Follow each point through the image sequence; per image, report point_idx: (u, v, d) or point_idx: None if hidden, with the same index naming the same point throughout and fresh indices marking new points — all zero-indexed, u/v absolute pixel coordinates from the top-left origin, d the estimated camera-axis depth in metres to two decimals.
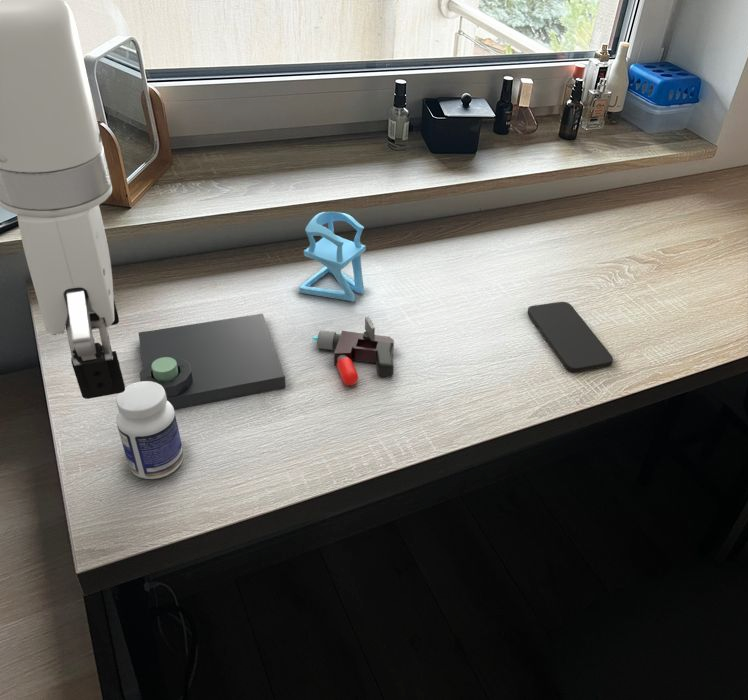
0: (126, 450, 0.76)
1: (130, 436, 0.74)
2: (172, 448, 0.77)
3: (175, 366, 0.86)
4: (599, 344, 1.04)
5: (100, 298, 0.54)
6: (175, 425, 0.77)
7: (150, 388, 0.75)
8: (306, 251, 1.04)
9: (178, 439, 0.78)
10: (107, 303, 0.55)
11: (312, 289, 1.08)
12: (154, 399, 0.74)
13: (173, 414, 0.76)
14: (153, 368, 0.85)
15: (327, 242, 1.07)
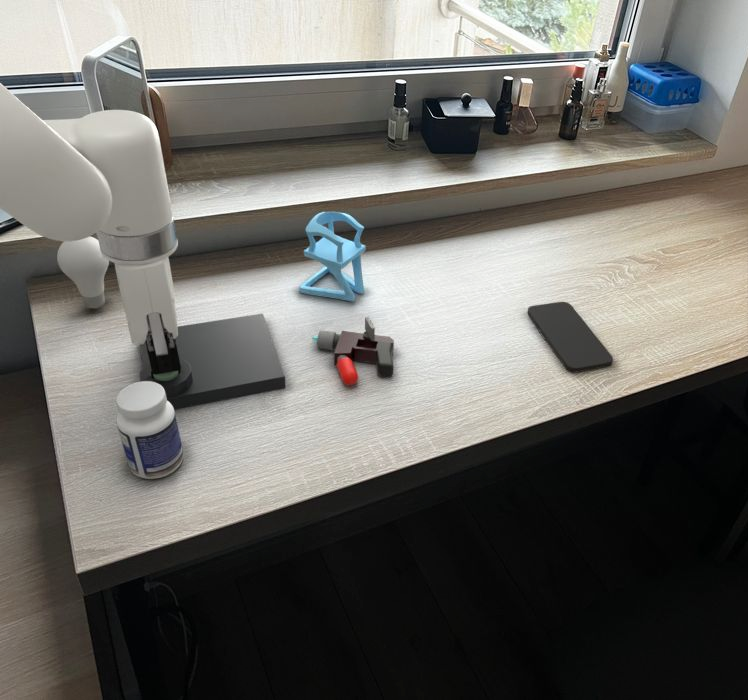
0: (126, 450, 0.76)
1: (130, 436, 0.74)
2: (172, 448, 0.77)
3: (176, 371, 0.86)
4: (599, 344, 1.04)
5: (173, 333, 0.79)
6: (175, 425, 0.77)
7: (150, 388, 0.75)
8: (306, 251, 1.04)
9: (178, 439, 0.78)
10: (174, 323, 0.78)
11: (312, 289, 1.08)
12: (154, 399, 0.74)
13: (173, 414, 0.76)
14: None
15: (327, 242, 1.07)
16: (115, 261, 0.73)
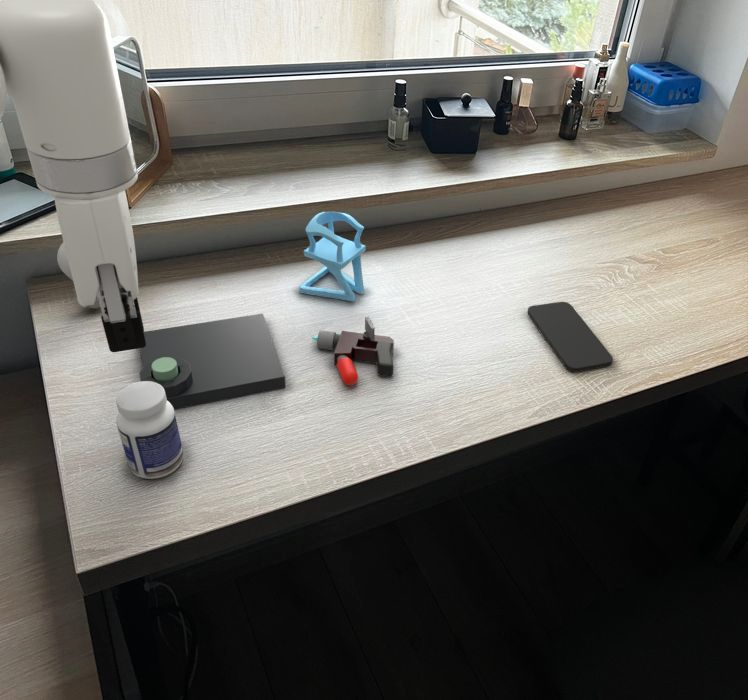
0: (126, 450, 0.76)
1: (130, 436, 0.74)
2: (172, 448, 0.77)
3: (175, 366, 0.86)
4: (599, 344, 1.04)
5: None
6: (175, 425, 0.77)
7: (150, 388, 0.75)
8: (306, 251, 1.04)
9: (178, 439, 0.78)
10: (133, 278, 0.61)
11: (312, 289, 1.08)
12: (154, 399, 0.74)
13: (173, 414, 0.76)
14: (153, 368, 0.85)
15: (327, 242, 1.07)
16: (53, 194, 0.56)
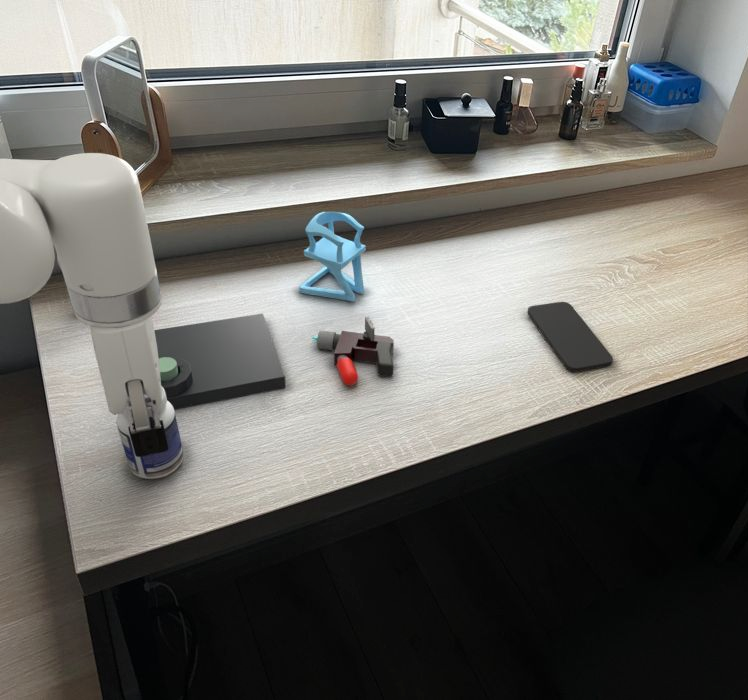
0: (126, 450, 0.76)
1: None
2: (172, 448, 0.77)
3: (175, 366, 0.86)
4: (599, 344, 1.04)
5: (154, 394, 0.69)
6: (175, 425, 0.77)
7: None
8: (306, 251, 1.04)
9: (178, 439, 0.78)
10: (158, 389, 0.69)
11: (312, 289, 1.08)
12: None
13: (173, 414, 0.76)
14: None
15: (327, 242, 1.07)
16: (89, 323, 0.64)
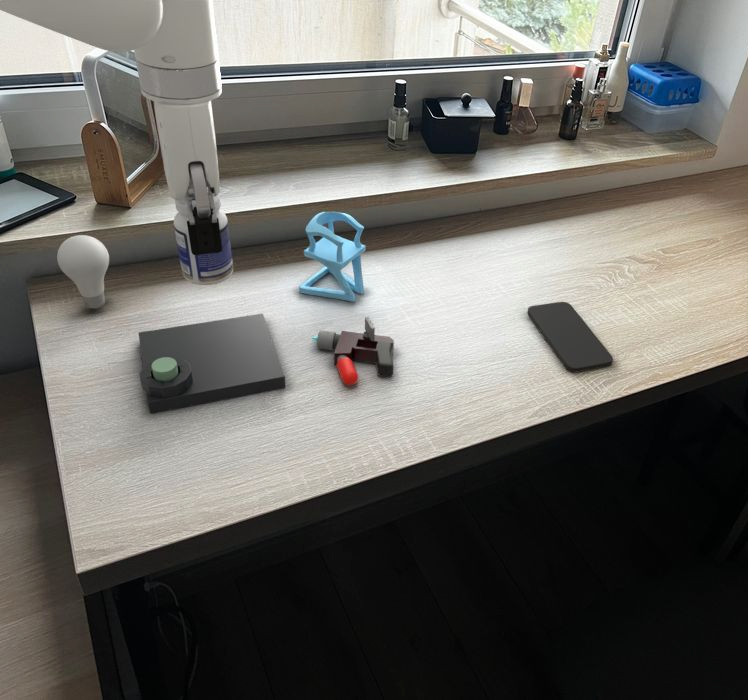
0: (182, 253, 0.81)
1: (187, 234, 0.78)
2: (224, 254, 0.82)
3: (175, 366, 0.86)
4: (599, 344, 1.04)
5: (214, 180, 0.73)
6: (227, 232, 0.82)
7: None
8: (306, 251, 1.04)
9: (229, 248, 0.83)
10: (217, 176, 0.73)
11: (312, 289, 1.08)
12: None
13: (226, 220, 0.81)
14: (153, 368, 0.85)
15: (327, 242, 1.07)
16: (157, 100, 0.69)
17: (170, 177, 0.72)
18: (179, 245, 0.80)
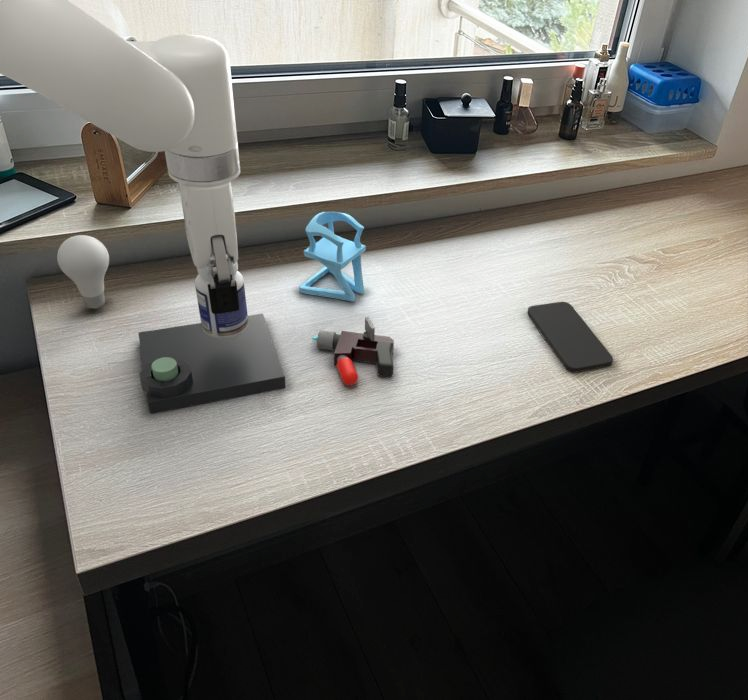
0: (202, 311, 0.88)
1: (208, 295, 0.86)
2: (241, 311, 0.90)
3: (175, 366, 0.86)
4: (599, 344, 1.04)
5: (233, 250, 0.81)
6: (244, 291, 0.89)
7: None
8: (306, 251, 1.04)
9: (245, 305, 0.91)
10: (236, 247, 0.81)
11: (312, 289, 1.08)
12: None
13: (242, 280, 0.89)
14: (153, 368, 0.85)
15: (327, 242, 1.07)
16: (183, 182, 0.76)
17: (194, 249, 0.79)
18: (200, 304, 0.88)
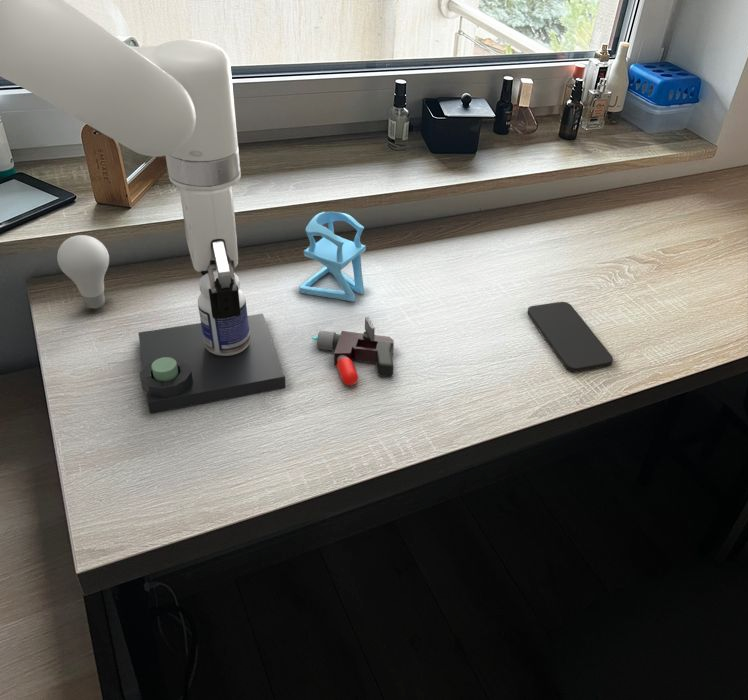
0: (205, 329, 0.90)
1: (210, 314, 0.88)
2: (243, 329, 0.91)
3: (175, 366, 0.86)
4: (599, 344, 1.04)
5: (232, 246, 0.81)
6: (245, 309, 0.91)
7: None
8: (306, 251, 1.04)
9: (247, 322, 0.92)
10: (236, 251, 0.81)
11: (312, 289, 1.08)
12: None
13: (244, 299, 0.90)
14: (153, 368, 0.85)
15: (327, 242, 1.07)
16: (184, 187, 0.77)
17: (194, 253, 0.80)
18: (202, 322, 0.90)
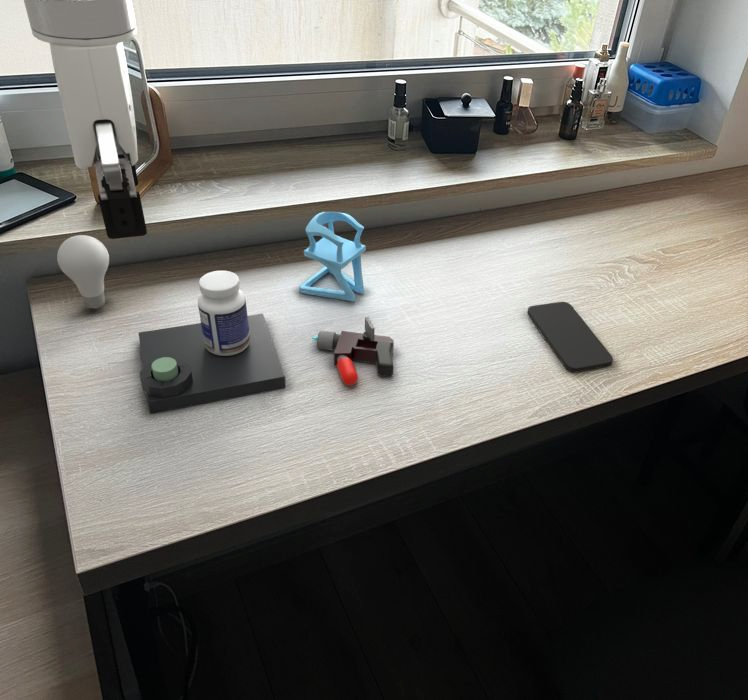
0: (205, 329, 0.90)
1: (210, 314, 0.88)
2: (243, 329, 0.91)
3: (175, 366, 0.86)
4: (599, 344, 1.04)
5: (126, 133, 0.58)
6: (245, 309, 0.91)
7: (226, 275, 0.89)
8: (306, 251, 1.04)
9: (247, 322, 0.92)
10: (132, 140, 0.59)
11: (312, 289, 1.08)
12: (231, 282, 0.88)
13: (244, 299, 0.90)
14: (153, 368, 0.85)
15: (327, 242, 1.07)
16: (49, 40, 0.54)
17: (71, 140, 0.57)
18: (202, 322, 0.90)
